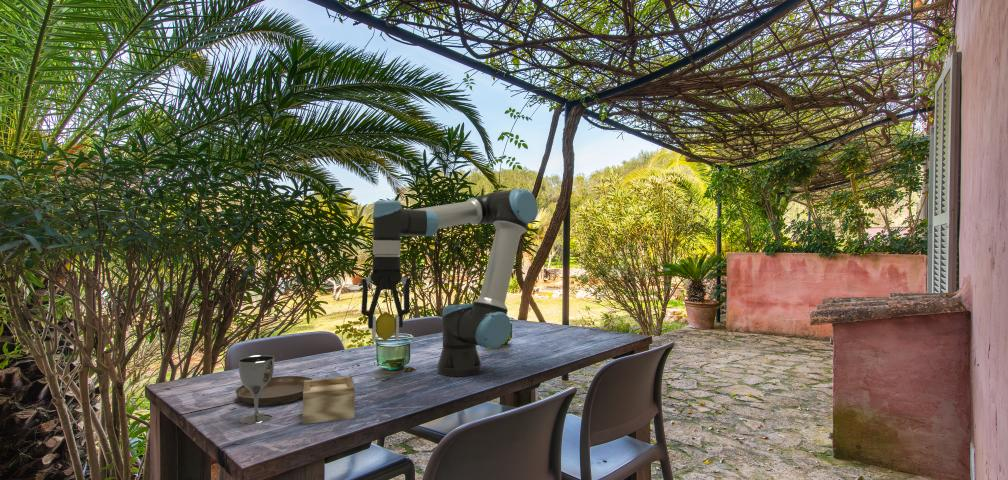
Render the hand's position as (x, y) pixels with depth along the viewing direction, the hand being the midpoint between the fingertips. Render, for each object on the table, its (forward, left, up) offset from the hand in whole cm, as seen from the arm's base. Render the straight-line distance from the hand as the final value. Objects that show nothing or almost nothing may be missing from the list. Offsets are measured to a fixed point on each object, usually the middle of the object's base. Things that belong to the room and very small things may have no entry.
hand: (385, 339), depth 136 cm
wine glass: (+32, +2, -17) cm, 36 cm away
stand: (+15, +4, -17) cm, 23 cm away
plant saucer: (+29, -17, -18) cm, 38 cm away
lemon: (0, 0, -1) cm, 1 cm away
